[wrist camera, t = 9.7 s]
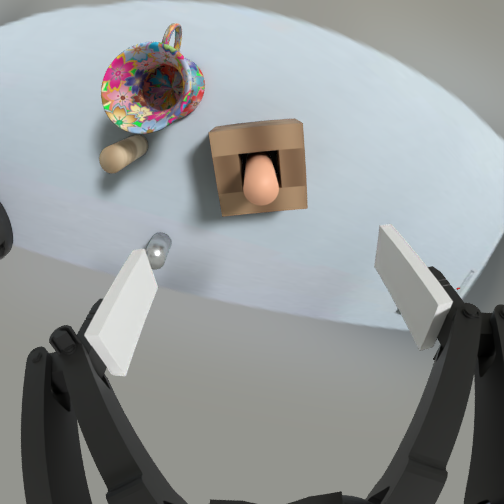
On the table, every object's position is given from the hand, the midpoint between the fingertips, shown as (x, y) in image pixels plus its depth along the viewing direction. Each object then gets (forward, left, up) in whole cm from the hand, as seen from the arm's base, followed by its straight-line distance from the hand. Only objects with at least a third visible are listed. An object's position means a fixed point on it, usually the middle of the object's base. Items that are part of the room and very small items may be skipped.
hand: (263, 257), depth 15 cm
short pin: (-16, -11, -24) cm, 30 cm away
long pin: (0, 0, -24) cm, 24 cm away
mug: (-9, +12, -24) cm, 28 cm away
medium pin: (-16, +4, -24) cm, 29 cm away
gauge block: (0, 0, -24) cm, 24 cm away
